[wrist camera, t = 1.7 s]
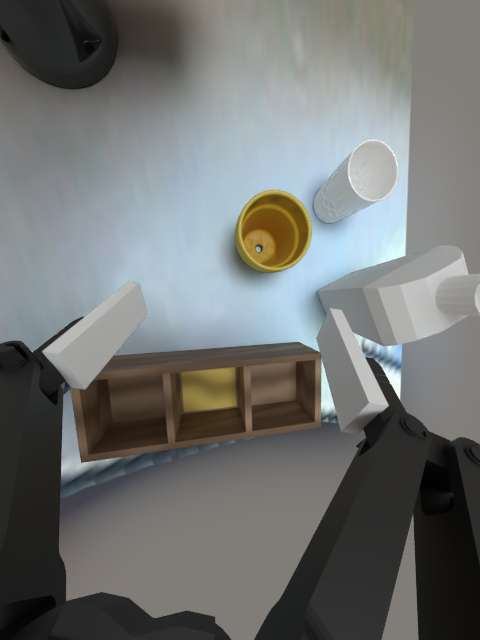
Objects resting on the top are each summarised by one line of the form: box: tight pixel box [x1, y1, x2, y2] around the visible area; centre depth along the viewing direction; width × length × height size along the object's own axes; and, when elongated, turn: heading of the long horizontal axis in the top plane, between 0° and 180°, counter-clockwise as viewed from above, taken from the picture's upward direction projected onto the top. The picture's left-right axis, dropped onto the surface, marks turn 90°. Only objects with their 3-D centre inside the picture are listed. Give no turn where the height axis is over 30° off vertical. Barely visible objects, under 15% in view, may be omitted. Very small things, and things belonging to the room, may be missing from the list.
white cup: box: [313, 139, 398, 223], centre depth 32 cm, size 8×8×10 cm
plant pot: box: [235, 190, 312, 273], centre depth 31 cm, size 10×10×10 cm
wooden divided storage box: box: [70, 342, 321, 463], centre depth 33 cm, size 13×36×8 cm, turn 92°
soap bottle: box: [317, 245, 480, 346], centre depth 26 cm, size 12×10×26 cm
